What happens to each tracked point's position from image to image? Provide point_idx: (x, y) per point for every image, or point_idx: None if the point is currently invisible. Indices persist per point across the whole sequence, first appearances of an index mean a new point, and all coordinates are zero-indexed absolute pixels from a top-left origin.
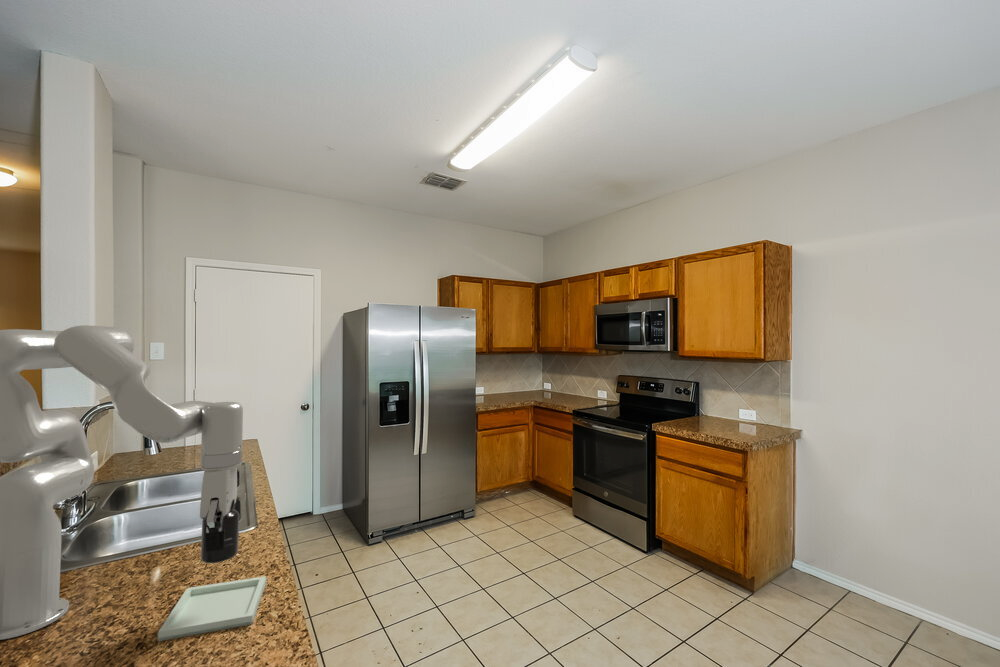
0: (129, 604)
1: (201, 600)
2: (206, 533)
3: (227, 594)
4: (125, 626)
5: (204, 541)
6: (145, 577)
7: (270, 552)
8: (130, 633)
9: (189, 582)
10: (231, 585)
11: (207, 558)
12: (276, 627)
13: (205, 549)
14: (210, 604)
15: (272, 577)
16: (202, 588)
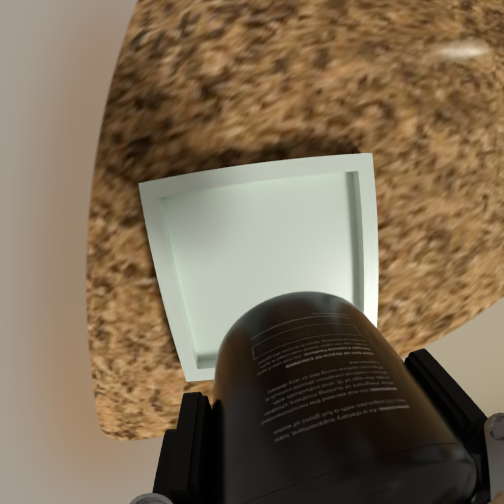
0: (342, 26)
1: (315, 213)
2: (169, 482)
3: (331, 274)
4: (234, 60)
5: (226, 402)
6: (453, 31)
7: (499, 287)
8: (196, 89)
9: (428, 135)
10: (361, 276)
11: (219, 356)
12: (175, 408)
13: (220, 376)
14: (287, 248)
15: (392, 342)
16: (360, 201)
